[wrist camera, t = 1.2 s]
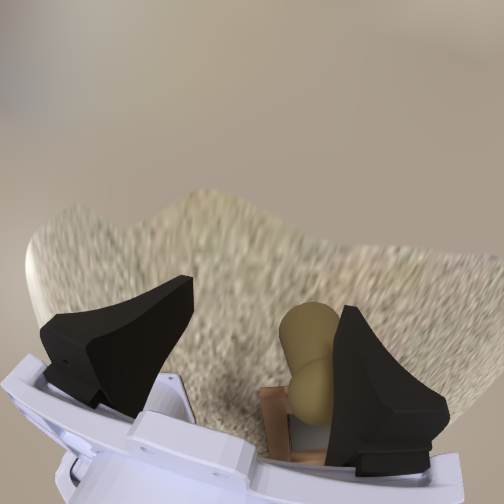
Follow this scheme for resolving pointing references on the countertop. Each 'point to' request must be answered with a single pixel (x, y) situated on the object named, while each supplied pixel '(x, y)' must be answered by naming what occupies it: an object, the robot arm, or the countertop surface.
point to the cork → (310, 361)
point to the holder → (291, 431)
